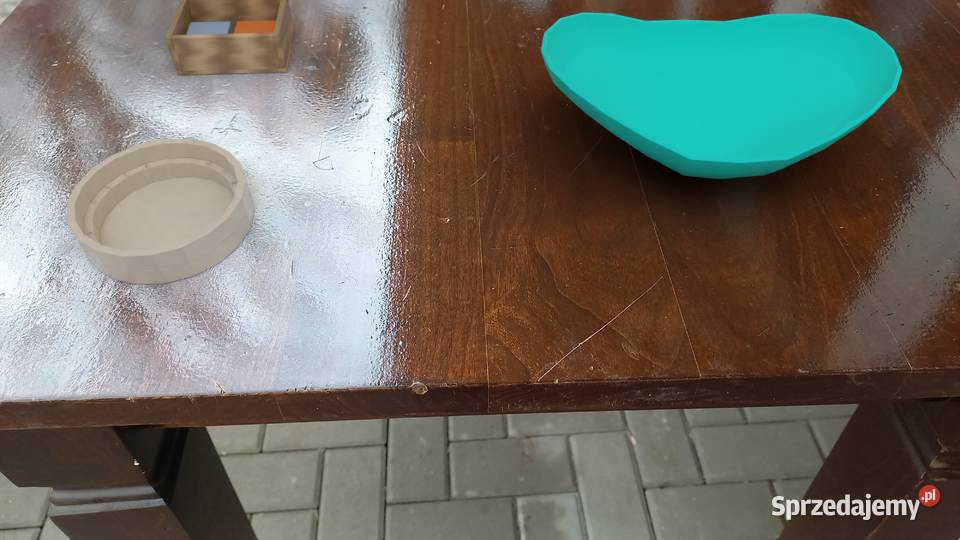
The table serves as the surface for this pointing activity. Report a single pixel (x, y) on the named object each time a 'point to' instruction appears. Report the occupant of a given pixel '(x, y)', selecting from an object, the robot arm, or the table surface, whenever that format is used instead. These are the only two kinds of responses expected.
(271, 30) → the orange rectangular block
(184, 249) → the bowl
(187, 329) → the table surface
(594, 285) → the table surface
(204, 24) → the blue rectangular block
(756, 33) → the table top decor
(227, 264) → the table surface
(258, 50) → the holder
